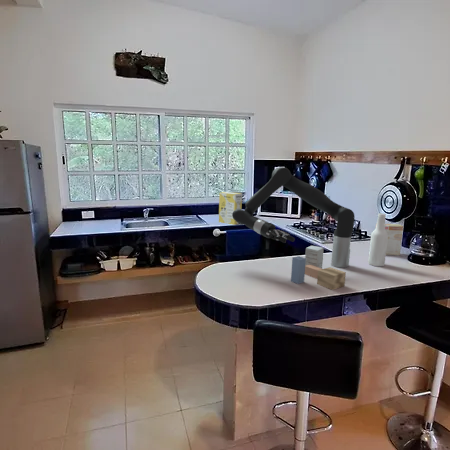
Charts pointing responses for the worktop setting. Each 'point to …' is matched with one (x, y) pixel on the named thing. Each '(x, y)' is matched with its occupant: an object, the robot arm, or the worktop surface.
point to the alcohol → (378, 243)
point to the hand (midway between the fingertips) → (290, 240)
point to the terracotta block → (312, 271)
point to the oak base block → (331, 278)
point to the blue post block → (298, 269)
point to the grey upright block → (314, 256)
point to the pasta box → (229, 206)
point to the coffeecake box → (393, 238)
